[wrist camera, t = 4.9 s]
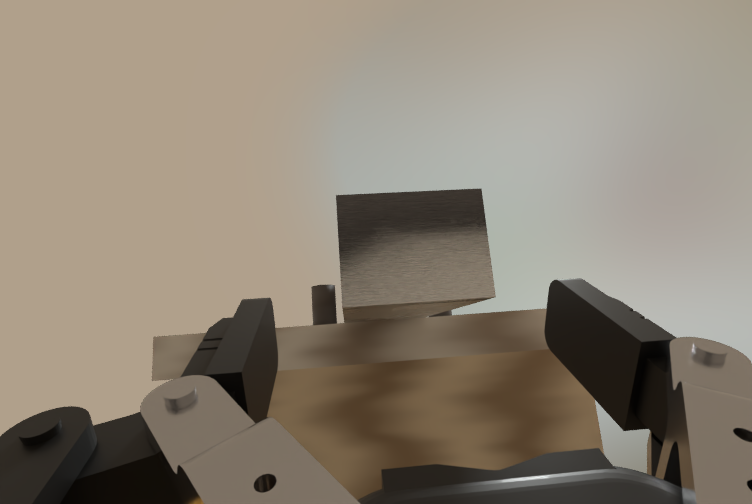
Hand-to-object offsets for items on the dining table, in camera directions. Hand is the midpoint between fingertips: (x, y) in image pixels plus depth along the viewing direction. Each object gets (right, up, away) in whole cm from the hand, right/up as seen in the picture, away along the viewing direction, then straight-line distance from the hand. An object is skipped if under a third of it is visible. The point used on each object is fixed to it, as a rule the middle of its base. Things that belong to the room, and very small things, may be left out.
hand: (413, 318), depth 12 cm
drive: (-1, -2, +12) cm, 12 cm away
